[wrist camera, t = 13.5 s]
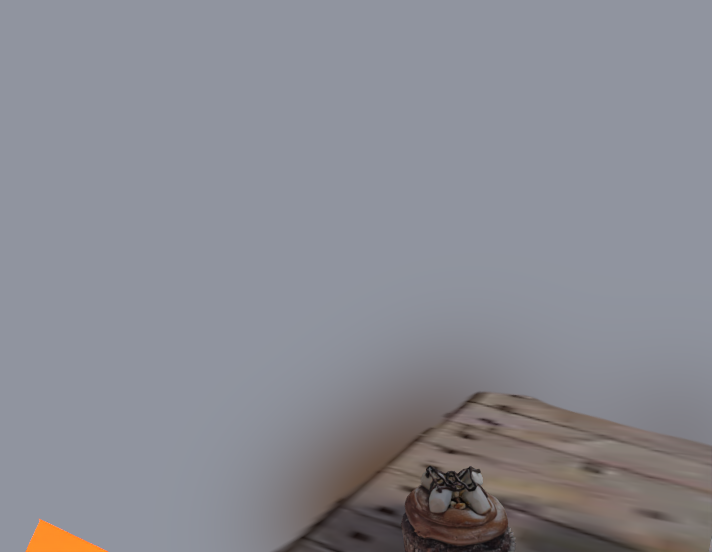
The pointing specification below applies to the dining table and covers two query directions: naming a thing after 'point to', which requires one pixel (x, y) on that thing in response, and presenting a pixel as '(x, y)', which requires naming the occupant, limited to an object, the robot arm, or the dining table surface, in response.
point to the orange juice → (58, 541)
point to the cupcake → (454, 515)
